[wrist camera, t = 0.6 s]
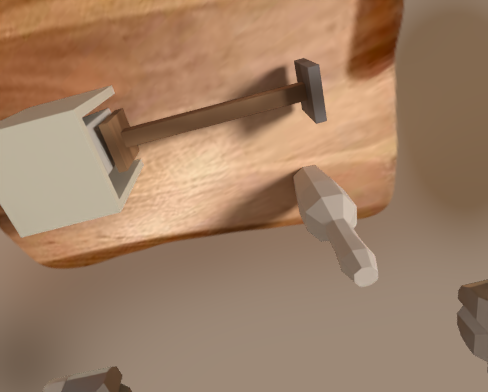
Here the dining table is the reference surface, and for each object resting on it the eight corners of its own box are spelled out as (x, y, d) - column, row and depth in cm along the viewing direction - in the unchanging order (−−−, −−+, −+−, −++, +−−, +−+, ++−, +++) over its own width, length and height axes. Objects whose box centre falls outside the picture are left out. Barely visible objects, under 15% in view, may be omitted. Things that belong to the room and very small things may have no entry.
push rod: (114, 108, 44) (97, 123, 37) (303, 58, 43) (319, 64, 36) (132, 153, 46) (119, 174, 40) (311, 106, 45) (326, 120, 39)
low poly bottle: (320, 151, 50) (388, 236, 31) (336, 187, 53) (408, 285, 33) (280, 172, 51) (321, 267, 32) (298, 206, 54) (346, 313, 34)
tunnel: (28, 107, 45) (-41, 140, 33) (111, 85, 44) (73, 109, 32) (68, 184, 50) (21, 237, 38) (143, 165, 49) (120, 212, 37)
